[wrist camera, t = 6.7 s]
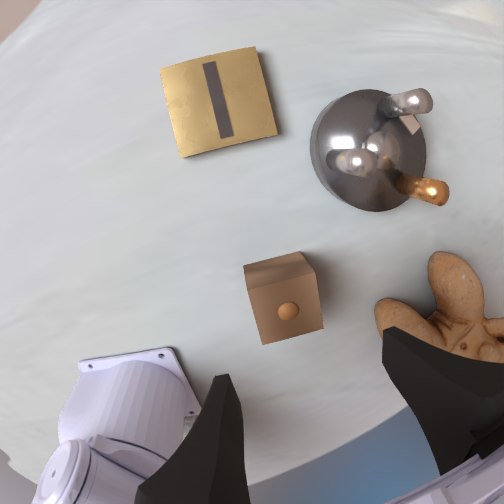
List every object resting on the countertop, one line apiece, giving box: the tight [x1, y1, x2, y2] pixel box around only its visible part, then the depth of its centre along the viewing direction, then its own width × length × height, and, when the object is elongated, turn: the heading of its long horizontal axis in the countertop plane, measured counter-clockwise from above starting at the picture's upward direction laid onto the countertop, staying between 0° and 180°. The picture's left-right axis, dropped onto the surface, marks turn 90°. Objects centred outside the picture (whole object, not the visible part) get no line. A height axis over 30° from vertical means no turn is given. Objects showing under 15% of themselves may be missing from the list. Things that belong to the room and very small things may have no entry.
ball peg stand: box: [310, 88, 449, 212], centre depth 16 cm, size 8×8×6 cm
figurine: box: [374, 252, 504, 363], centre depth 19 cm, size 11×9×15 cm
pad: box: [159, 47, 278, 158], centre depth 17 cm, size 6×6×1 cm
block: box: [243, 251, 324, 345], centre depth 20 cm, size 4×4×4 cm
